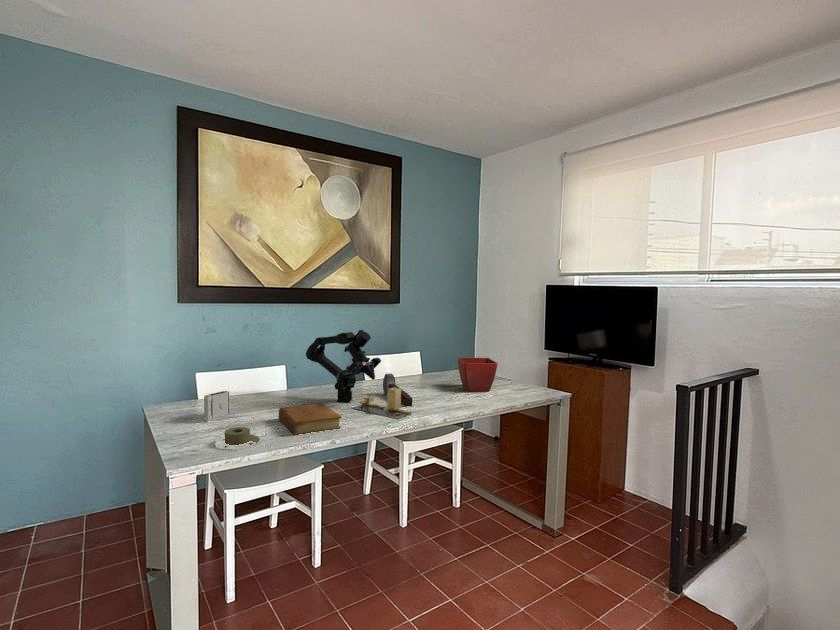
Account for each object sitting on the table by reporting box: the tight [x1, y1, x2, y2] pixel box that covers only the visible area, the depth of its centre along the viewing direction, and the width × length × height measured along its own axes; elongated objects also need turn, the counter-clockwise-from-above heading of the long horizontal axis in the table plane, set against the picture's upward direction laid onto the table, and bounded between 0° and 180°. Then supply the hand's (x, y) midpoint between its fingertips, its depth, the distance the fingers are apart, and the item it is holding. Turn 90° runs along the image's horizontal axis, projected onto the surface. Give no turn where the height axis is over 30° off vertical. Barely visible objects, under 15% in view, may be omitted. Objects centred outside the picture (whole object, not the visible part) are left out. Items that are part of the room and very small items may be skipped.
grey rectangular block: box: [203, 390, 230, 422], centre depth 188 cm, size 14×5×10 cm, turn 164°
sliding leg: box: [383, 387, 402, 412], centre depth 202 cm, size 4×9×10 cm, turn 146°
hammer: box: [382, 373, 413, 408], centre depth 226 cm, size 5×11×30 cm
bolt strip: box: [352, 404, 409, 420], centre depth 203 cm, size 27×7×1 cm, turn 56°
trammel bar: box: [359, 395, 412, 416], centre depth 205 cm, size 27×8×4 cm, turn 56°
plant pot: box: [457, 357, 499, 392], centre depth 254 cm, size 19×19×17 cm
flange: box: [224, 426, 261, 445], centre depth 159 cm, size 5×15×15 cm
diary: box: [278, 402, 342, 436], centre depth 182 cm, size 23×19×6 cm
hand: (374, 379), depth 210 cm, fingers closed
